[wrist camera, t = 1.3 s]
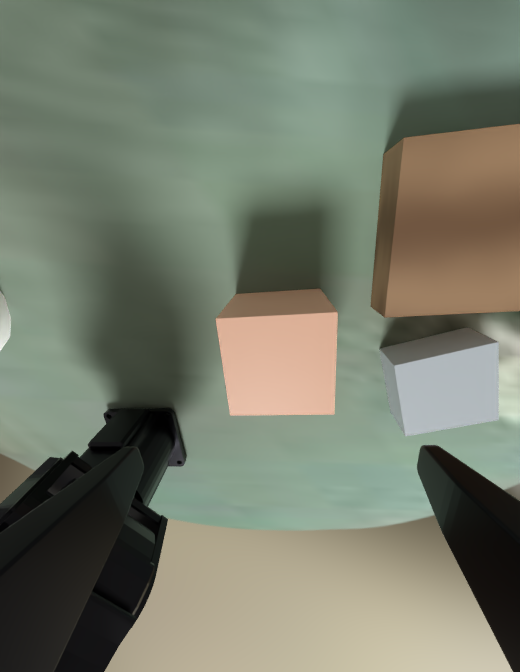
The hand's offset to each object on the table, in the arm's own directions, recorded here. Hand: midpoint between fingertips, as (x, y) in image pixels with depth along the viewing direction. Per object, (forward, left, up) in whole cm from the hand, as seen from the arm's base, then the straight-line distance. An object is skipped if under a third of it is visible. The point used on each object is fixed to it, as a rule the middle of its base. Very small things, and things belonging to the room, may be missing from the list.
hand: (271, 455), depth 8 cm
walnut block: (+6, -11, -12) cm, 18 cm away
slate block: (-4, -11, -12) cm, 17 cm away
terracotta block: (0, 0, -12) cm, 12 cm away
